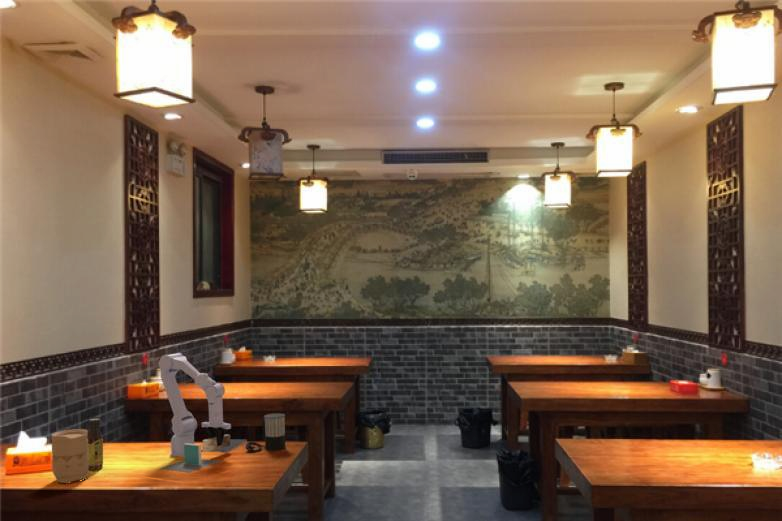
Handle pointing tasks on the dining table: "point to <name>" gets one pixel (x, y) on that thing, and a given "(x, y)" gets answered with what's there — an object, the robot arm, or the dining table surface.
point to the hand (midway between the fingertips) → (216, 445)
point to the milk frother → (271, 434)
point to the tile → (192, 454)
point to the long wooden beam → (215, 443)
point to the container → (70, 455)
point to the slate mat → (189, 466)
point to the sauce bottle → (95, 445)
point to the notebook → (231, 445)
